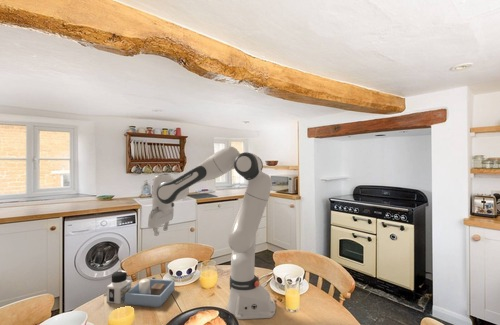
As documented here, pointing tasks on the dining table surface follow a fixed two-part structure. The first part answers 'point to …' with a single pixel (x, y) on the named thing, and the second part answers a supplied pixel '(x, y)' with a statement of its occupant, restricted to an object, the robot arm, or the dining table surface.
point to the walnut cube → (157, 289)
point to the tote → (149, 300)
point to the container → (118, 287)
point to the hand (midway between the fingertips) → (161, 232)
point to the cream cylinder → (144, 286)
